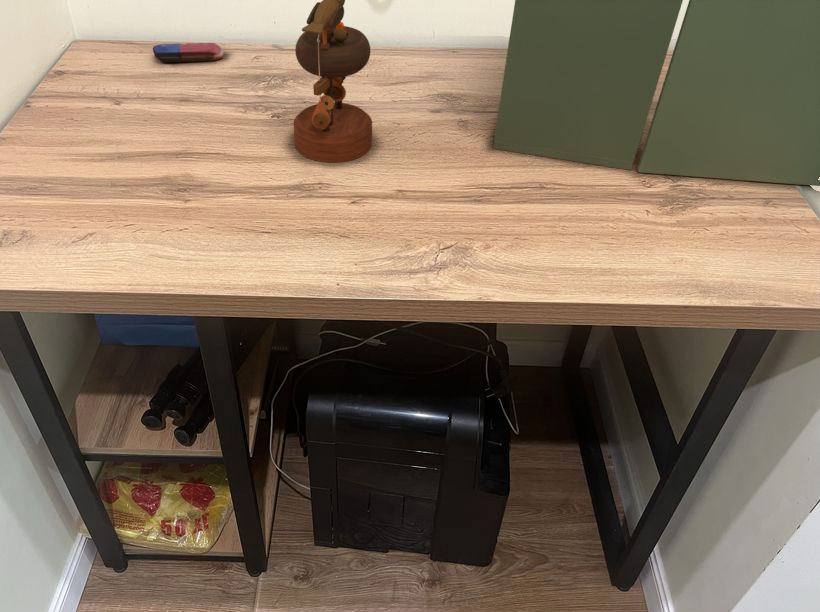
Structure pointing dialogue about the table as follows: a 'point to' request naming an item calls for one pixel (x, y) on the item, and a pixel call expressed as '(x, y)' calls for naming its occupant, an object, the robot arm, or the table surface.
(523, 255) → the table surface
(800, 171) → the door
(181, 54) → the eraser
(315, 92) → the music box
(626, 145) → the cupboard
